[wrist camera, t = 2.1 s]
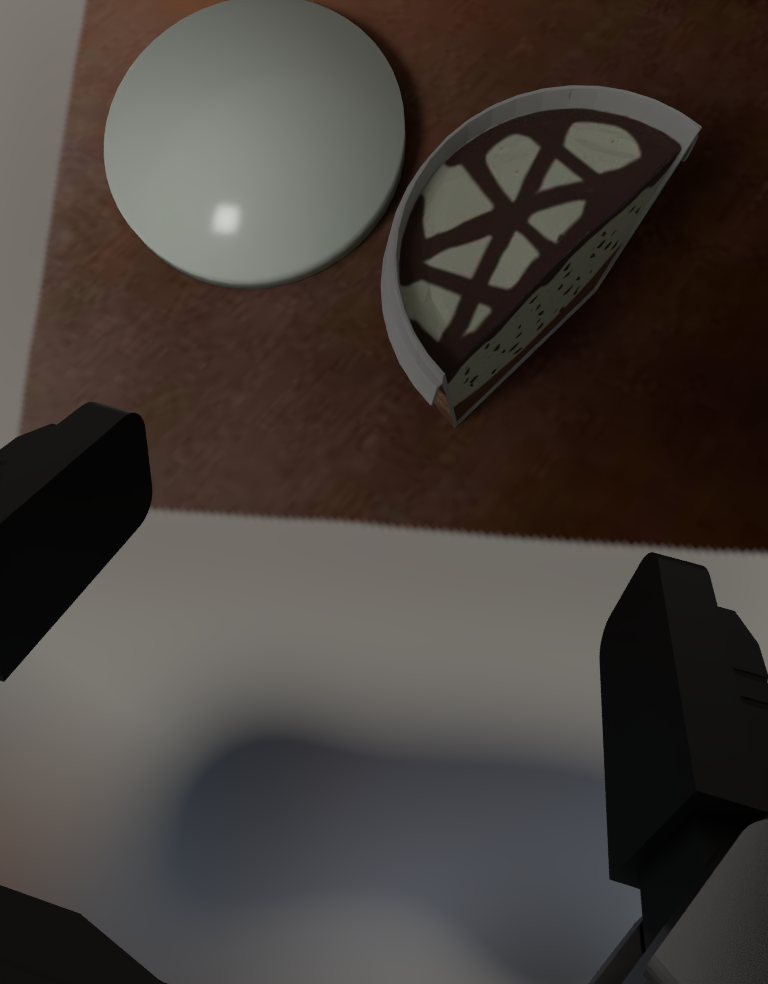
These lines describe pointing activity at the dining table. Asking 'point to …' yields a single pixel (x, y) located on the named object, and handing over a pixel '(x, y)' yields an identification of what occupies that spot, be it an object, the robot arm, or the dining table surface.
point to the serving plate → (256, 142)
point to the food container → (518, 230)
